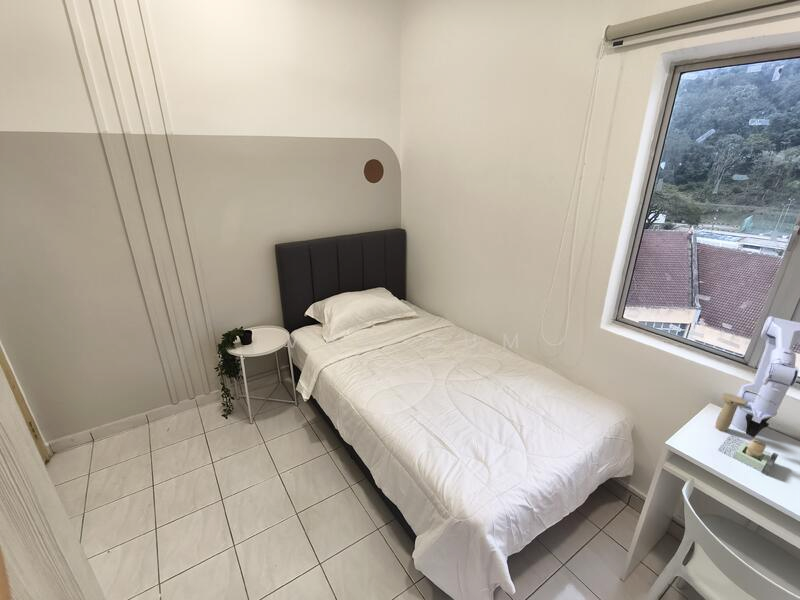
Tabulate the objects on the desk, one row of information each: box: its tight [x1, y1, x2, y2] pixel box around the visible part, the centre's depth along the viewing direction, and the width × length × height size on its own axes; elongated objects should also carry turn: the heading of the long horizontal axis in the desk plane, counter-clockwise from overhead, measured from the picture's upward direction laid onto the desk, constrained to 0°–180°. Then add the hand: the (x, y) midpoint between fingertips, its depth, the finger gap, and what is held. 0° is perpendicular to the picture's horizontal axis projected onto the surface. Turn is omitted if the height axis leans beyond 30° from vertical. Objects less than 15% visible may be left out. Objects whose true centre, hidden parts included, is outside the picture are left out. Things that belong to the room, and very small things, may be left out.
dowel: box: [744, 438, 767, 461], centre depth 123 cm, size 4×4×7 cm
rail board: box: [717, 434, 779, 476], centre depth 127 cm, size 14×13×5 cm
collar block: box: [732, 442, 772, 472], centre depth 124 cm, size 7×7×2 cm
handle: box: [714, 392, 746, 433], centre depth 136 cm, size 5×6×15 cm
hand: (753, 430), depth 125 cm, fingers open, 7 cm apart
